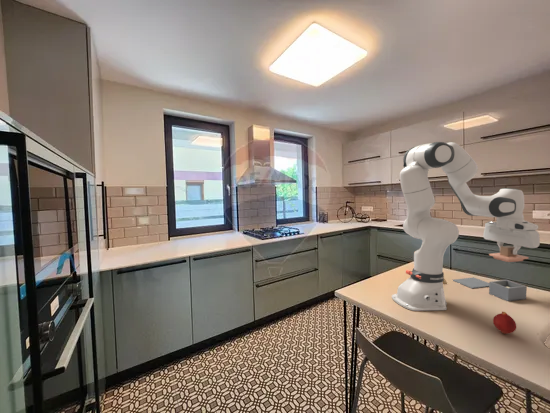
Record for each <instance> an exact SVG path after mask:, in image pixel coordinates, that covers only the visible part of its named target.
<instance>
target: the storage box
mask: <svg viewBox="0 0 550 413" xmlns="http://www.w3.org/2000/svg"><path fill="white" fill-rule="evenodd" d="M488 283H489V287H488V294H489V295H491V296H493V295H494V297H497V298H499V299H501V300H503V301H506V302H514V301H521V300H527V289H528V287H527V285H524V284H521V283H517V282H514V281H511V280H508V279H502V280H501V279H500V280H494V281H493V280H492V281H489V282H488Z"/></svg>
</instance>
